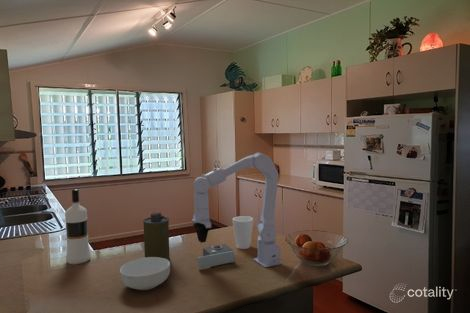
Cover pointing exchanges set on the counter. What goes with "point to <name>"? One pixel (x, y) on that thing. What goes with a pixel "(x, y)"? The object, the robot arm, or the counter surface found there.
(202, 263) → the side door
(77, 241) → the vodka
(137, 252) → the counter surface
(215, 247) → the camera body
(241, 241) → the foam cup
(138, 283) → the cereal bowl
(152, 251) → the canister
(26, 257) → the counter surface
